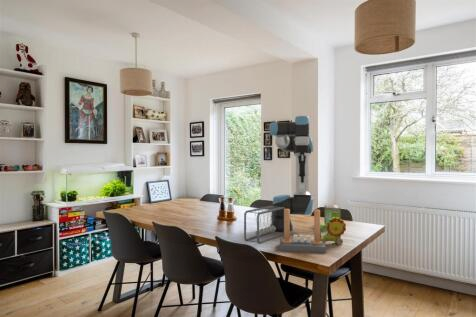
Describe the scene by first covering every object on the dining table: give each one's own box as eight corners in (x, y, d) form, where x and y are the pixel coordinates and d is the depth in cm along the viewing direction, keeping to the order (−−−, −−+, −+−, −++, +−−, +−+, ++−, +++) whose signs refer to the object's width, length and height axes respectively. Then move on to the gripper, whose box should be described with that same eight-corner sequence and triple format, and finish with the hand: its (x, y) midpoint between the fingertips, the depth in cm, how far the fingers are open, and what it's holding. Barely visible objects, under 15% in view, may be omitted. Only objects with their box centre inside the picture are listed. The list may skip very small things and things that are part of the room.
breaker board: (279, 244, 182) (279, 239, 182) (323, 246, 178) (323, 240, 178) (279, 250, 170) (279, 245, 170) (326, 252, 166) (326, 247, 166)
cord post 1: (282, 240, 178) (282, 208, 178) (291, 241, 177) (291, 208, 177) (282, 243, 173) (282, 209, 173) (291, 243, 173) (291, 210, 172)
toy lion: (319, 245, 180) (319, 218, 180) (316, 242, 186) (316, 216, 186) (347, 245, 181) (347, 218, 181) (343, 242, 186) (343, 216, 186)
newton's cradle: (272, 231, 212) (272, 205, 212) (285, 234, 205) (285, 206, 205) (243, 241, 189) (243, 211, 189) (258, 244, 182) (258, 213, 182)
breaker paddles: (293, 241, 176) (293, 234, 176) (310, 242, 174) (310, 235, 174) (293, 242, 174) (293, 235, 174) (310, 243, 173) (310, 236, 172)
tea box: (340, 229, 218) (340, 207, 218) (325, 228, 220) (325, 207, 220) (338, 224, 233) (338, 204, 233) (324, 224, 235) (324, 204, 235)
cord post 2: (312, 242, 176) (312, 209, 176) (321, 242, 175) (321, 209, 175) (312, 244, 171) (312, 210, 171) (322, 245, 170) (322, 211, 170)
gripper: (294, 145, 183) (294, 186, 183) (295, 144, 165) (295, 189, 166) (308, 145, 182) (308, 186, 182) (310, 144, 164) (310, 190, 165)
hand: (302, 188), depth 174 cm, fingers open, 4 cm apart
